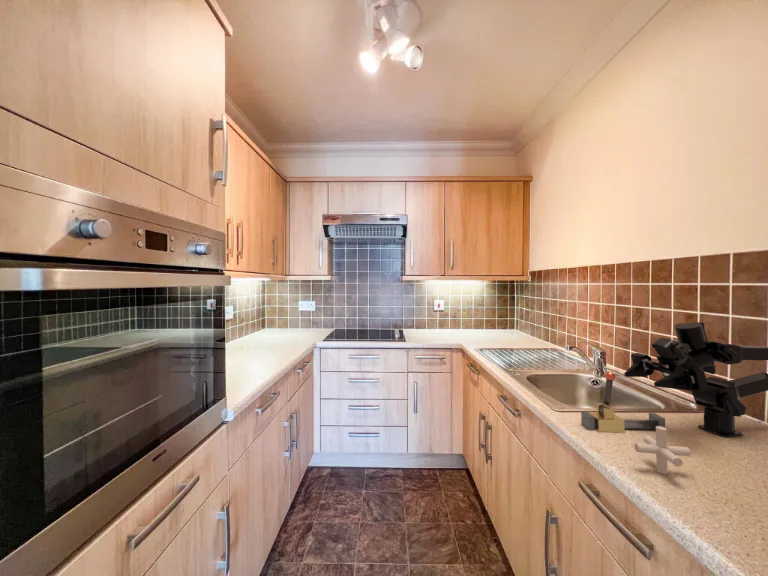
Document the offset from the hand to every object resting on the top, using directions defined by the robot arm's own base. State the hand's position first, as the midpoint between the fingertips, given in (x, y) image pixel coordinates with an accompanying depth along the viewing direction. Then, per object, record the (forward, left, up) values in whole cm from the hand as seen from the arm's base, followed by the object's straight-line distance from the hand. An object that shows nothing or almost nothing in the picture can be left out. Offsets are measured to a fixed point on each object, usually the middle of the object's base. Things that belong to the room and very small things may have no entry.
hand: (639, 379), depth 87 cm
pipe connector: (+12, +15, -16) cm, 25 cm away
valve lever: (+5, -6, -12) cm, 15 cm away
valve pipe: (0, -5, -16) cm, 17 cm away
